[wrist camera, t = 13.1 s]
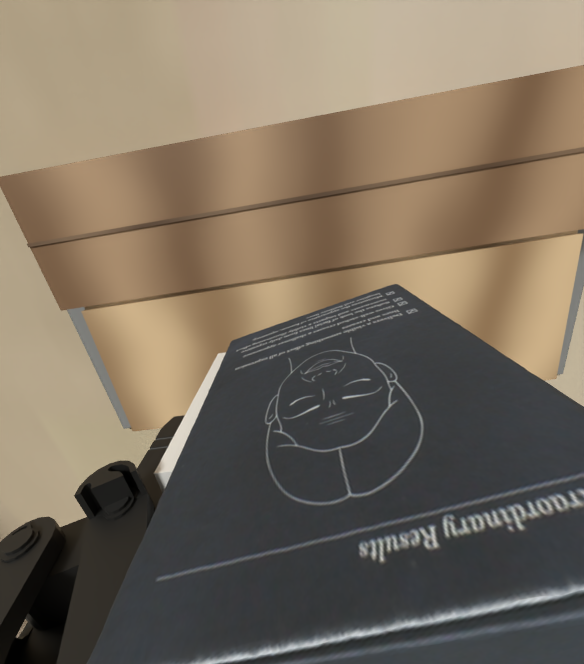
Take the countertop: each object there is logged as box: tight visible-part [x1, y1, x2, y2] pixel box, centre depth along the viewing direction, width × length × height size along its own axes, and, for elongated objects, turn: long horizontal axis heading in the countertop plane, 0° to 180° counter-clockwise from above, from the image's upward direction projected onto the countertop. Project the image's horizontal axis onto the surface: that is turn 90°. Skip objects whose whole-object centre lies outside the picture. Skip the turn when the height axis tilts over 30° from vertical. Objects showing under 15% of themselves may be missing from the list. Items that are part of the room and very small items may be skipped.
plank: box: [81, 230, 583, 431], centre depth 16 cm, size 24×8×2 cm, turn 99°
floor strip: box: [0, 65, 584, 310], centre depth 13 cm, size 26×6×2 cm, turn 99°
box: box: [87, 284, 584, 664], centre depth 9 cm, size 8×6×11 cm
